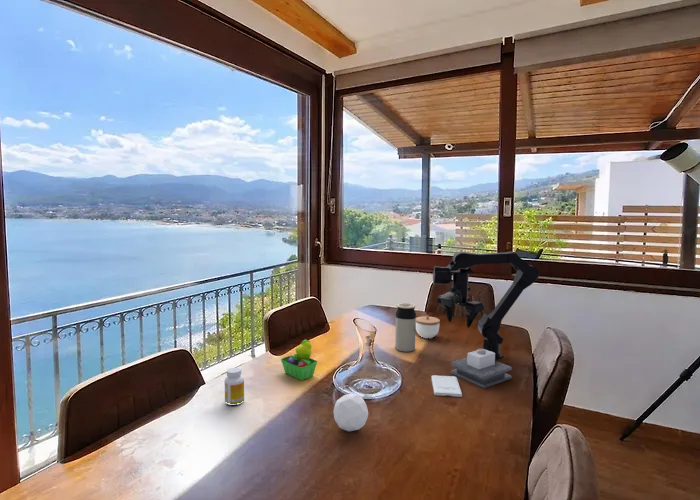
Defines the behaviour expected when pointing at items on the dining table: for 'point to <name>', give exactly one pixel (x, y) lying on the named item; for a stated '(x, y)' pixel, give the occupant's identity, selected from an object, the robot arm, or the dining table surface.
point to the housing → (480, 358)
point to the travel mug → (405, 327)
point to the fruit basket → (300, 362)
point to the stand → (481, 373)
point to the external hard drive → (446, 386)
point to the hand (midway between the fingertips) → (458, 324)
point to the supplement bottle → (234, 386)
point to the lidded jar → (427, 326)
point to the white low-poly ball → (350, 412)
